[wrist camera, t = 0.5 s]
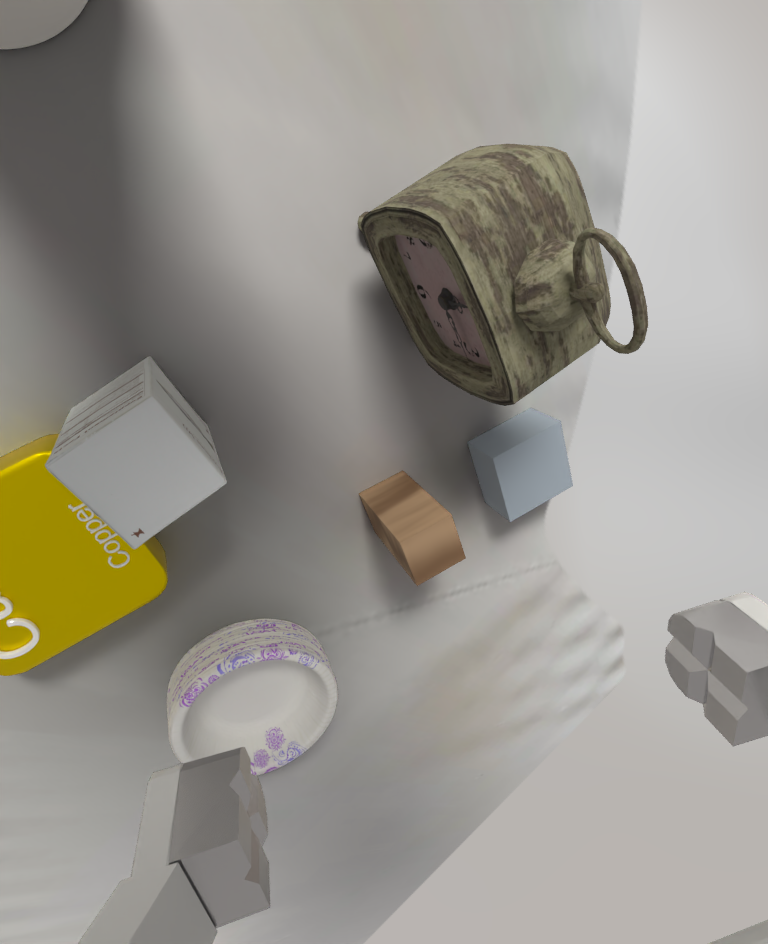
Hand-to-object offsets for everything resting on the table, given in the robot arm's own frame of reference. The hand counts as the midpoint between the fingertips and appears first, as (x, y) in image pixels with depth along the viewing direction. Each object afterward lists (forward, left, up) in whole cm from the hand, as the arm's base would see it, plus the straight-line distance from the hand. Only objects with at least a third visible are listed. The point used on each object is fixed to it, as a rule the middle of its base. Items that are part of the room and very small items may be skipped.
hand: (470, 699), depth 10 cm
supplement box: (+3, -8, -39) cm, 40 cm away
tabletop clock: (+1, +18, -39) cm, 43 cm away
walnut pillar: (+21, +8, -39) cm, 45 cm away
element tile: (+9, -20, -40) cm, 45 cm away
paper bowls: (+30, -12, -39) cm, 51 cm away
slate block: (+23, +22, -39) cm, 50 cm away
